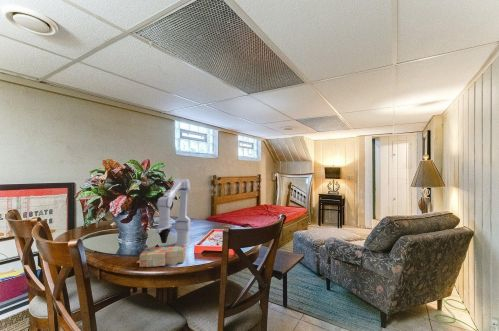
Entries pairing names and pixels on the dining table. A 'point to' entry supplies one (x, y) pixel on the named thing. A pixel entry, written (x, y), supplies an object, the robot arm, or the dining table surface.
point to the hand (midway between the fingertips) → (163, 242)
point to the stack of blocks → (162, 255)
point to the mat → (166, 263)
